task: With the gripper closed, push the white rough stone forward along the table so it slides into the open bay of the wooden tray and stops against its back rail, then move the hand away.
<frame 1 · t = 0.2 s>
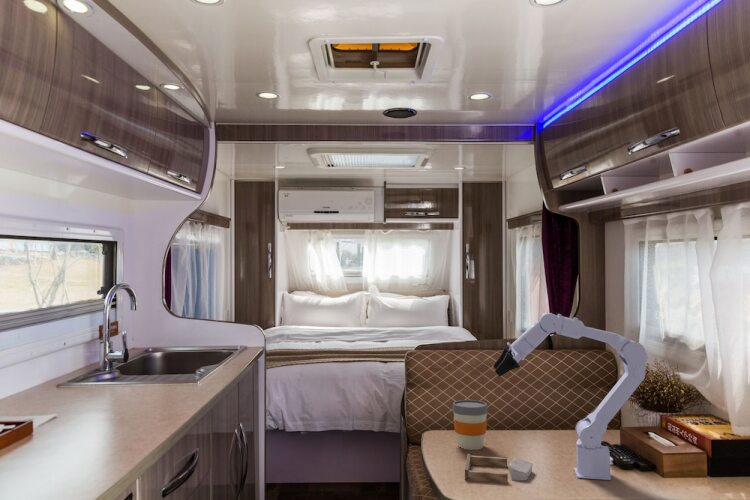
hand: (496, 371, 176), 31 cm above the table, fingers open, 7 cm apart
reusable coffee cup: (470, 446, 198), on the table
white rough stone: (520, 476, 169), on the table
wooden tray: (489, 472, 171), on the table
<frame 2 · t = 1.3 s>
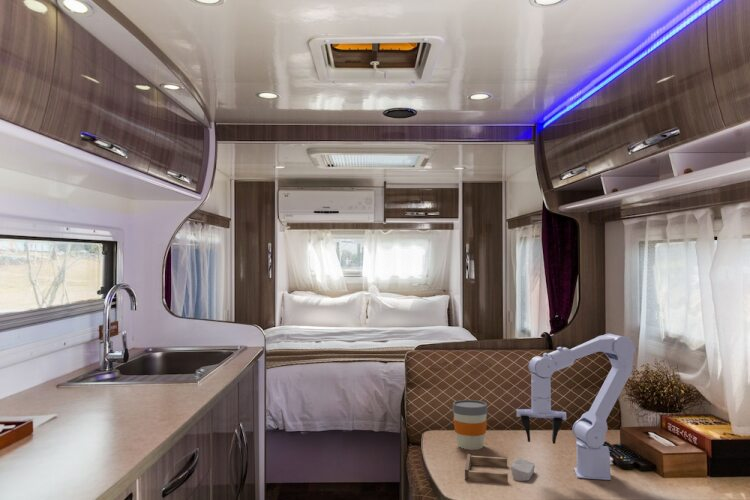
hand: (541, 441, 168), 10 cm above the table, fingers open, 7 cm apart
nothing on the table moved.
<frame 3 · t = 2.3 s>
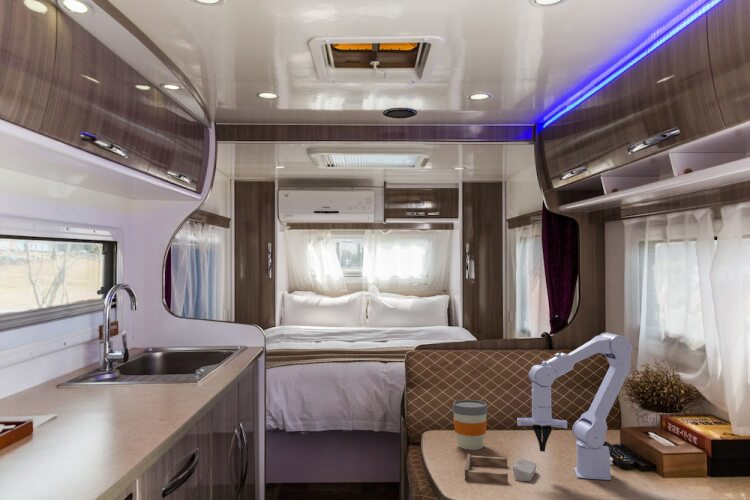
hand: (542, 450, 168), 8 cm above the table, fingers closed
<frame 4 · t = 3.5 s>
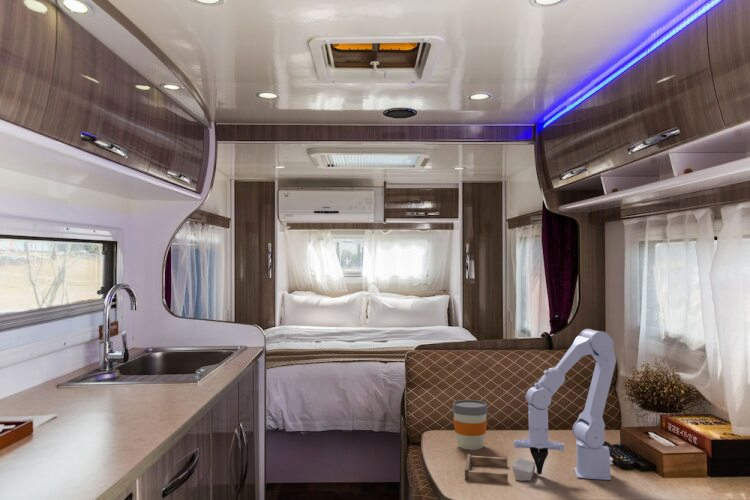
hand: (539, 472, 168), 1 cm above the table, fingers closed
white rough stone: (523, 476, 168), on the table, touching gripper
everything else where it was.
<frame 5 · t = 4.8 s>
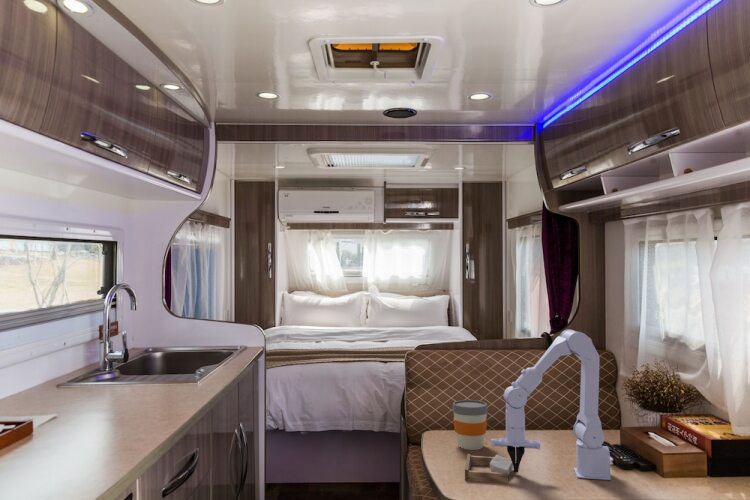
hand: (516, 471, 169), 1 cm above the table, fingers closed
white rough stone: (500, 473, 171), on the table, touching gripper
everything else where it was.
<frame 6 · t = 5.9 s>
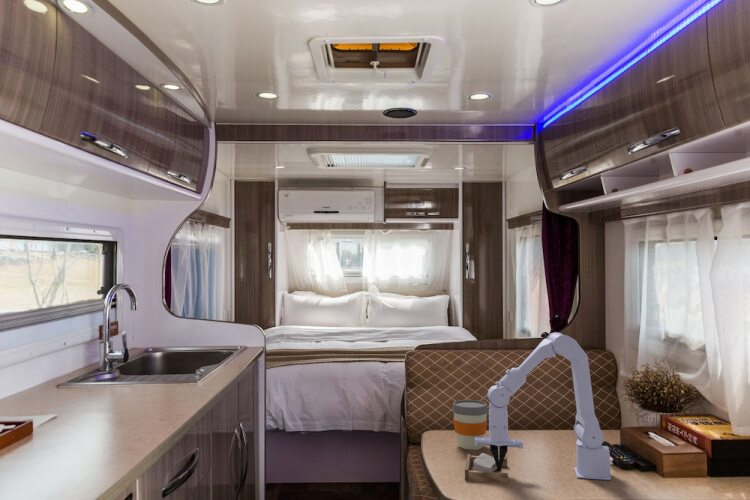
hand: (499, 470, 170), 1 cm above the table, fingers closed
white rough stone: (485, 471, 173), on the table, touching gripper
everything else where it was.
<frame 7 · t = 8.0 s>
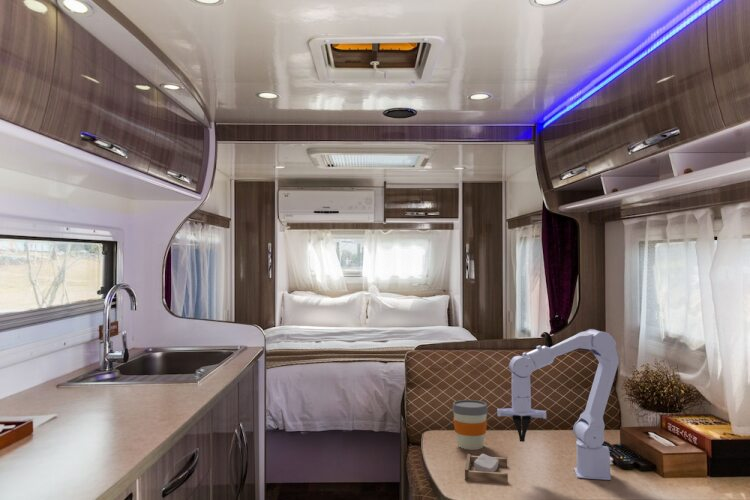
hand: (522, 440, 169), 10 cm above the table, fingers closed
white rough stone: (485, 472, 173), on the table
everything else where it was.
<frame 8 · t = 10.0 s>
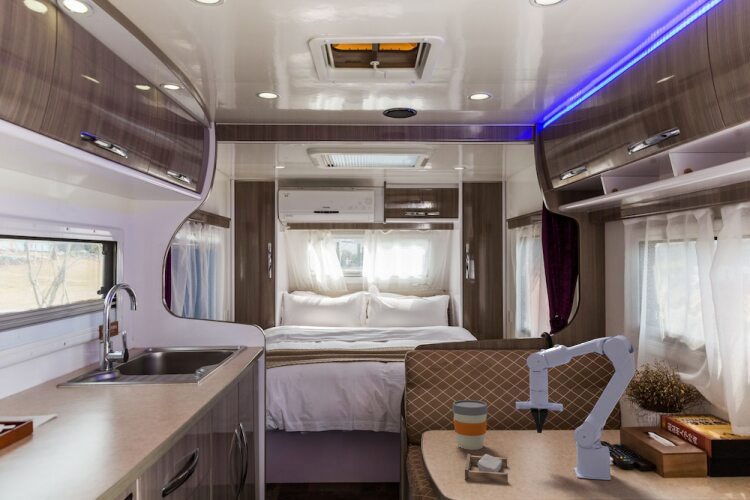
hand: (539, 432, 178), 10 cm above the table, fingers closed
white rough stone: (489, 472, 172), on the table
everything else where it was.
at the end: white rough stone inside the target area on the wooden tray (1.3 cm from its centre), point 0.0 cm above the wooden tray's base; white rough stone moved 9.2 cm from its start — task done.
